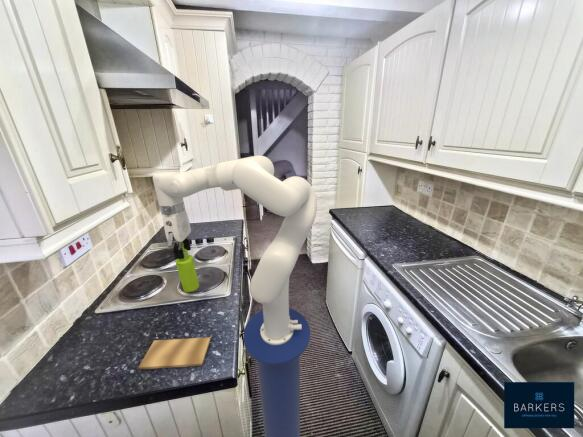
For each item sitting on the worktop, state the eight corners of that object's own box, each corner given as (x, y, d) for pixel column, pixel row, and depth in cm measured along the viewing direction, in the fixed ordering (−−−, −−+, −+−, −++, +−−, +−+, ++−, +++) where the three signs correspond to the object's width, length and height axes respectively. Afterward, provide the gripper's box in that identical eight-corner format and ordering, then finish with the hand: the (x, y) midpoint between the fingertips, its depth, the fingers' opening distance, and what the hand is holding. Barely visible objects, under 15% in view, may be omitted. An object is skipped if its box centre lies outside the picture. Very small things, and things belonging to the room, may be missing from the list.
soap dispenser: (196, 279, 95) (185, 236, 87) (201, 287, 89) (190, 243, 81) (181, 284, 91) (168, 241, 83) (185, 294, 86) (172, 248, 78)
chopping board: (210, 339, 83) (210, 337, 83) (202, 365, 74) (201, 363, 73) (154, 342, 82) (154, 340, 82) (139, 369, 73) (138, 367, 73)
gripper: (172, 216, 71) (184, 266, 77) (193, 200, 86) (201, 243, 93) (148, 217, 70) (161, 267, 77) (173, 201, 86) (182, 243, 93)
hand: (183, 253), depth 85 cm, fingers closed on soap dispenser, 5 cm apart
